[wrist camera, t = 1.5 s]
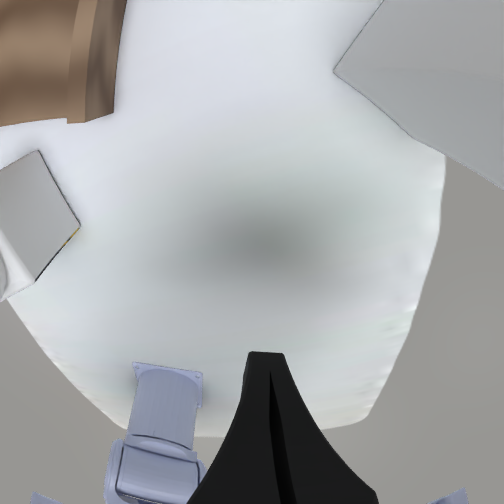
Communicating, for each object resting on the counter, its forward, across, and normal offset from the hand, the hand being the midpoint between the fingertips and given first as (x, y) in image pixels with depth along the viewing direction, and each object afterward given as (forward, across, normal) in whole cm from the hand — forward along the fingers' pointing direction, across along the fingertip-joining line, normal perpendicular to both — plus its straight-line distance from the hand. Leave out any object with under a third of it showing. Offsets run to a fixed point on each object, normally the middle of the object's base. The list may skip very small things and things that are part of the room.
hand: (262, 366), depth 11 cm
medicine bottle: (+10, +18, -1) cm, 21 cm away
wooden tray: (+10, +17, -17) cm, 26 cm away
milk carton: (+10, -7, -14) cm, 19 cm away
